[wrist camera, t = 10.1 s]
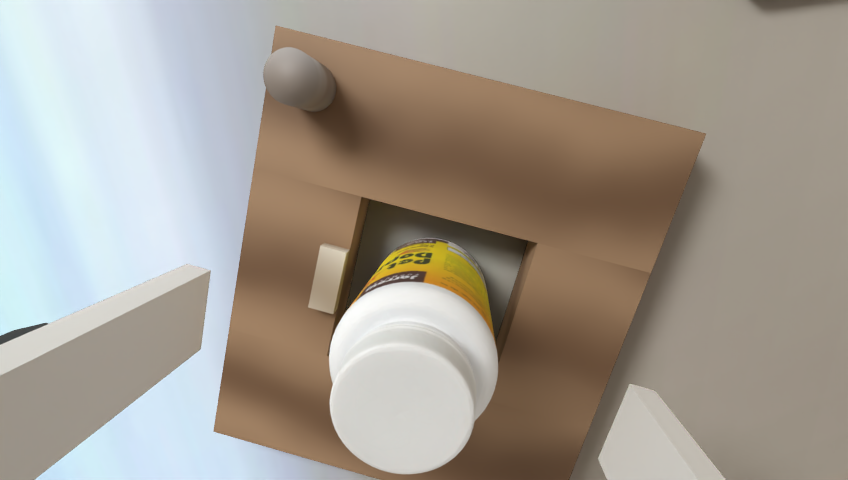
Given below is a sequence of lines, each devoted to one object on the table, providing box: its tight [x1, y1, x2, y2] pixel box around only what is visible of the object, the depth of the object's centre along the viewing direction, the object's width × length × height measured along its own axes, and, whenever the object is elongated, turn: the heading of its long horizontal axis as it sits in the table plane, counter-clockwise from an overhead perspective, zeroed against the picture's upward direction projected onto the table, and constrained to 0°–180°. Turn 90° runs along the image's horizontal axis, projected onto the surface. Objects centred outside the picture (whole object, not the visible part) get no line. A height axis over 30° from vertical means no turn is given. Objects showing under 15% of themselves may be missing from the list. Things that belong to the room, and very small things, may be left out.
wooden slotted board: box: [214, 26, 706, 480], centre depth 19 cm, size 20×18×4 cm
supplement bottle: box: [329, 238, 498, 474], centre depth 16 cm, size 6×6×10 cm
